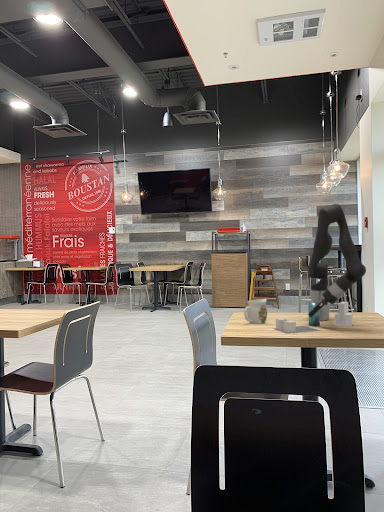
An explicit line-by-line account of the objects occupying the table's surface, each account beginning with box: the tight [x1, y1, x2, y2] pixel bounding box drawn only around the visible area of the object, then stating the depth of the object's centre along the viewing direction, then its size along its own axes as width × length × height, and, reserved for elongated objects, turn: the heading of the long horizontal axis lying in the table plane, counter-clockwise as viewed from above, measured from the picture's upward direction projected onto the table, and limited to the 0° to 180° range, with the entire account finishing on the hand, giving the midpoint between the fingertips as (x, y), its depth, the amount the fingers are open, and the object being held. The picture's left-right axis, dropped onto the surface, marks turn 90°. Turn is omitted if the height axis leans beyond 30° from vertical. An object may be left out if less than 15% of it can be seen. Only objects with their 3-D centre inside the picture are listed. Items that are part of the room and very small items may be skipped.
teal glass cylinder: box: [307, 301, 321, 327], centre depth 222 cm, size 6×6×12 cm
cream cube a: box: [284, 320, 297, 334], centre depth 205 cm, size 4×4×5 cm
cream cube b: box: [275, 317, 288, 331], centre depth 213 cm, size 4×4×5 cm
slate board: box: [272, 325, 321, 335], centre depth 211 cm, size 19×14×2 cm
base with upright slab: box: [334, 301, 353, 327], centre depth 230 cm, size 9×9×12 cm
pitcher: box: [243, 298, 268, 325], centre depth 233 cm, size 11×18×14 cm, turn 131°
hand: (310, 314), depth 223 cm, fingers closed on teal glass cylinder, 5 cm apart
